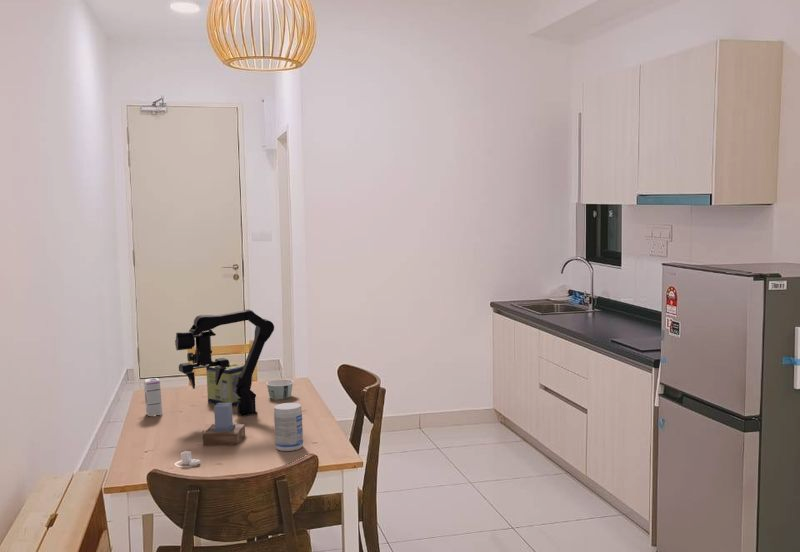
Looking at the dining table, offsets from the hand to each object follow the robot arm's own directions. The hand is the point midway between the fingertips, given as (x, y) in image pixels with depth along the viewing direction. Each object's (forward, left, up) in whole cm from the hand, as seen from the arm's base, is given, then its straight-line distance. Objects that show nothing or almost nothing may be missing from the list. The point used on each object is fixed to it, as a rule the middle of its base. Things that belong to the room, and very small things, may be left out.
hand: (205, 386), depth 297 cm
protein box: (-17, -21, -13) cm, 30 cm away
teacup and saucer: (+25, +49, -14) cm, 56 cm away
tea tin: (+4, +30, -9) cm, 32 cm away
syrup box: (+15, -20, -13) cm, 28 cm away
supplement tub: (-11, +52, -13) cm, 55 cm away
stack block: (+4, +30, -13) cm, 33 cm away
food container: (-38, -14, -13) cm, 43 cm away
